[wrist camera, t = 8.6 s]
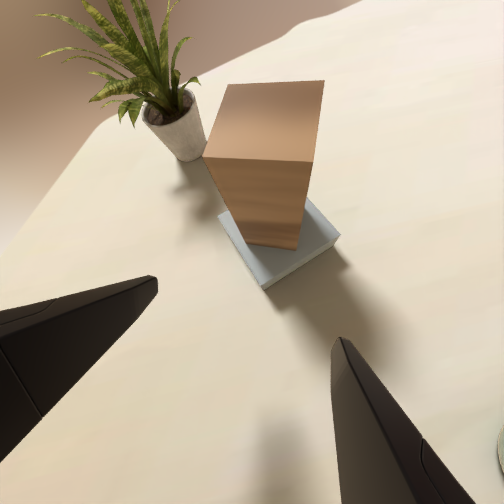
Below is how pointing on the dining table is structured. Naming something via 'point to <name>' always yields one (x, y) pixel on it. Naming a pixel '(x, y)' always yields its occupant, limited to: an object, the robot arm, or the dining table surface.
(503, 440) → the cup
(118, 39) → the house plant
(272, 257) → the pedestal
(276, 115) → the wooden block
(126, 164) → the dining table surface
